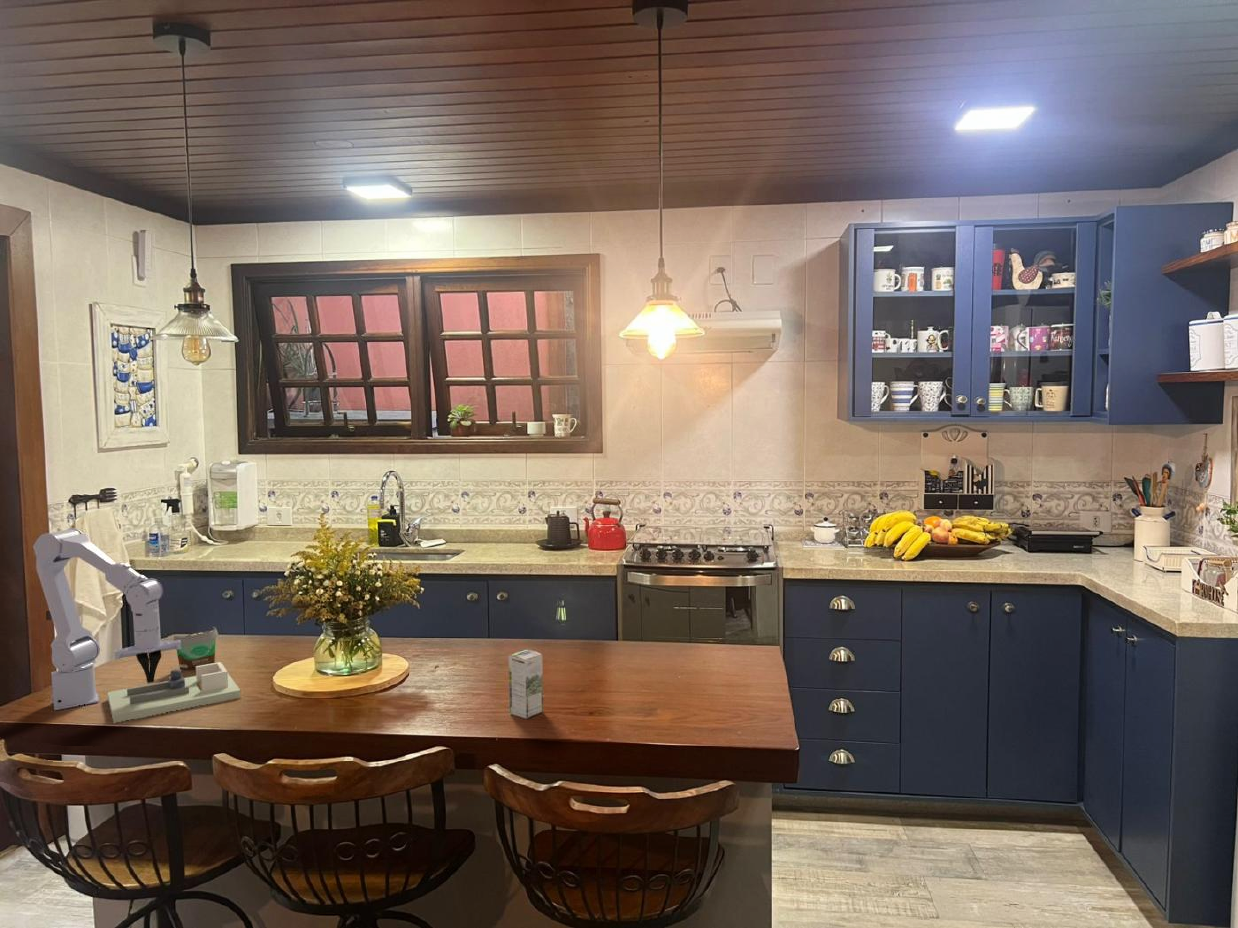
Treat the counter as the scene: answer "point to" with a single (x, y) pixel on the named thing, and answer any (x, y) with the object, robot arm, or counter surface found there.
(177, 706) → the board
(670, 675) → the counter surface
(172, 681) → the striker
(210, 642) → the food container
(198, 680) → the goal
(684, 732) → the counter surface
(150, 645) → the robot arm
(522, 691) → the syrup box
